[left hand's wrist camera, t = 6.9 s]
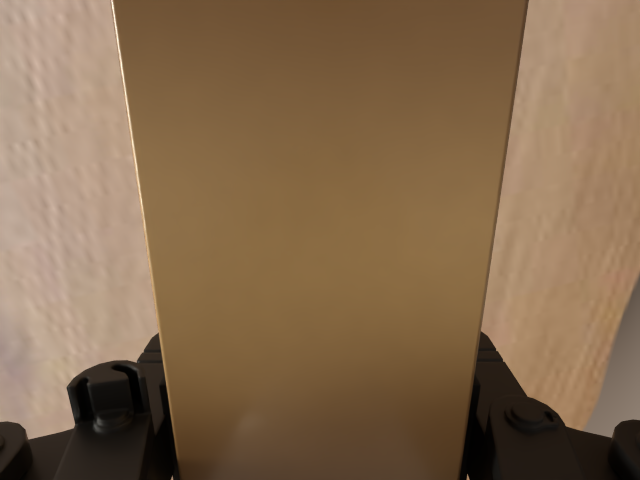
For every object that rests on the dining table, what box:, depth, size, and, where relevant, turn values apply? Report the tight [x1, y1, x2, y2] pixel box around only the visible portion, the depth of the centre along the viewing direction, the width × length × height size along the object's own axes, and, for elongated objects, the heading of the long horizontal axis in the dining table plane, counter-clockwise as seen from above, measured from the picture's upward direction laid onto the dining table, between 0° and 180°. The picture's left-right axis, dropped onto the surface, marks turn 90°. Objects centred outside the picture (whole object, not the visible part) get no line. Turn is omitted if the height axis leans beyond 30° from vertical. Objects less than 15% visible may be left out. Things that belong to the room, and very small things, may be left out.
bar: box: [110, 0, 529, 480], centre depth 9 cm, size 22×4×8 cm, turn 0°
